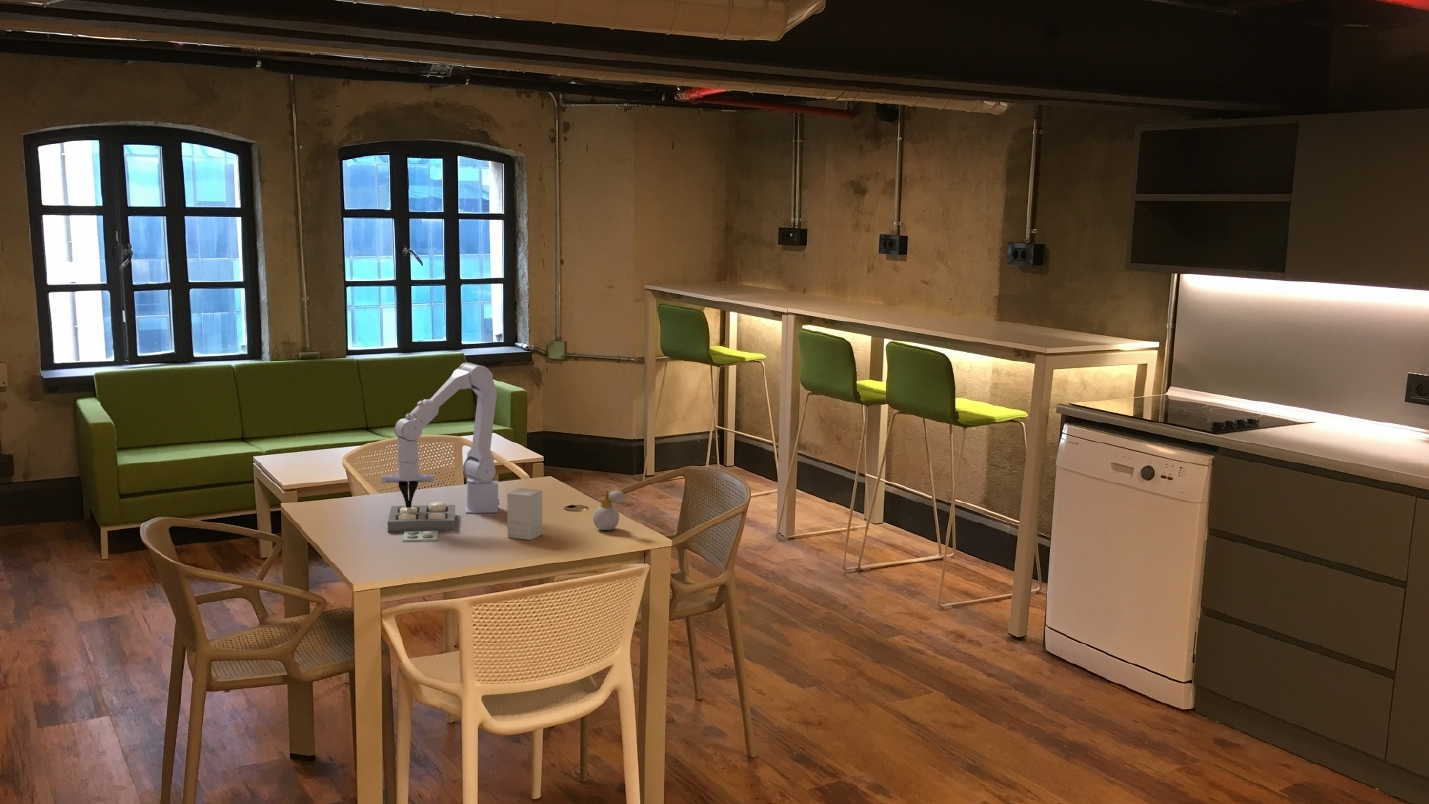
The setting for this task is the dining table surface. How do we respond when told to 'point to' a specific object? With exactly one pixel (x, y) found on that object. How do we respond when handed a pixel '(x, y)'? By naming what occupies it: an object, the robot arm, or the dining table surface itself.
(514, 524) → the supplement box
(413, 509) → the button
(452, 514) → the button board
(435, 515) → the button
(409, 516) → the button
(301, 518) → the dining table surface
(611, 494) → the perfume bottle
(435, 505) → the button
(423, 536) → the tile
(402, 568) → the dining table surface
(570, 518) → the dining table surface
